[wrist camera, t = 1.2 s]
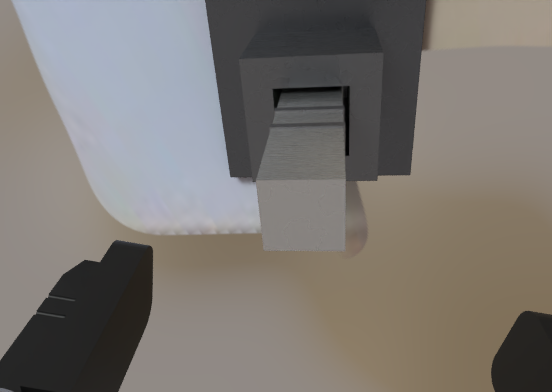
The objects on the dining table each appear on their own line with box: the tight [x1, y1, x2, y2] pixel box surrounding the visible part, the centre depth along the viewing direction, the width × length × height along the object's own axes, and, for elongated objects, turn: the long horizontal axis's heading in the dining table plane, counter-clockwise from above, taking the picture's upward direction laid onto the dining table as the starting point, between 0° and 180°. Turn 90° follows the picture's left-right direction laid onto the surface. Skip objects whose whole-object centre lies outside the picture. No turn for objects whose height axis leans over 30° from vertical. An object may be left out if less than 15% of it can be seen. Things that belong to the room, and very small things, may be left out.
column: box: [256, 86, 346, 251], centre depth 29 cm, size 4×4×18 cm
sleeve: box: [205, 0, 426, 182], centre depth 34 cm, size 16×16×8 cm
